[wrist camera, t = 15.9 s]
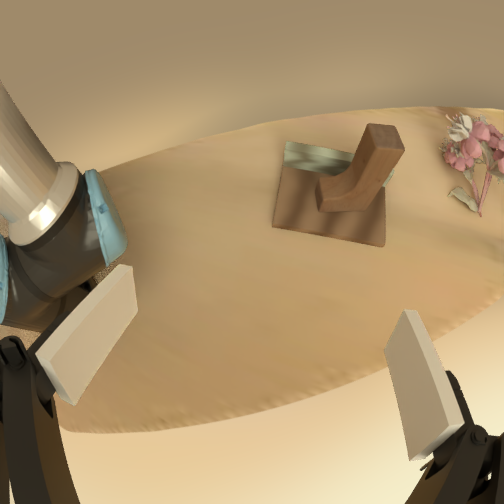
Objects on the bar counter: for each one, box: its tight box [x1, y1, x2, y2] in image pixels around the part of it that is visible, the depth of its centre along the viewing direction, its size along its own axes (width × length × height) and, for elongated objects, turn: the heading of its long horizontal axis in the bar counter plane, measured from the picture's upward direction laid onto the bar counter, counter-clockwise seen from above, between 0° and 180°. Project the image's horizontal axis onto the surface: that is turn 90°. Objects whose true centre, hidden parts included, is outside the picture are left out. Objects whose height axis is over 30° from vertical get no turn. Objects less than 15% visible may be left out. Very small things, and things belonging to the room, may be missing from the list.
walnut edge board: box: [272, 141, 394, 247], centre depth 47 cm, size 20×14×6 cm
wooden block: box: [315, 123, 405, 212], centre depth 40 cm, size 9×4×18 cm, turn 93°
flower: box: [438, 112, 504, 217], centre depth 43 cm, size 20×22×25 cm
